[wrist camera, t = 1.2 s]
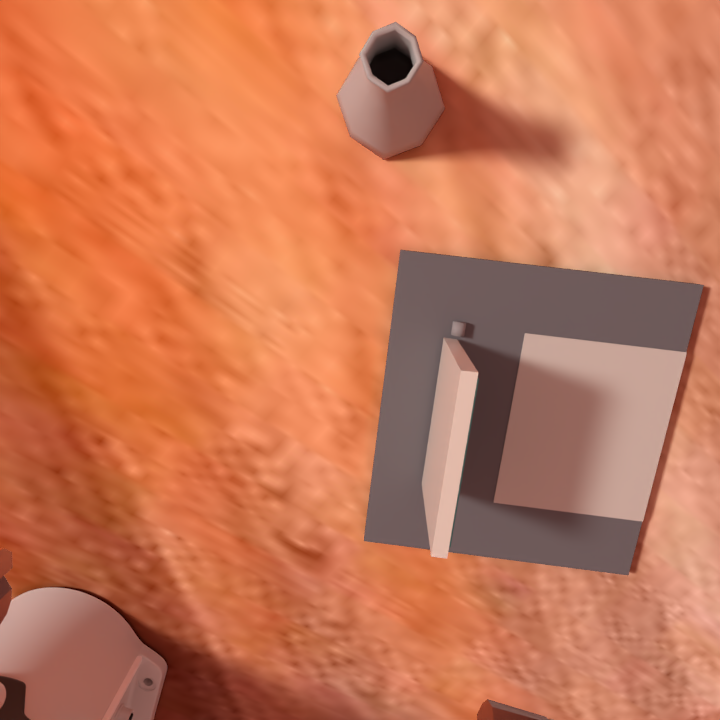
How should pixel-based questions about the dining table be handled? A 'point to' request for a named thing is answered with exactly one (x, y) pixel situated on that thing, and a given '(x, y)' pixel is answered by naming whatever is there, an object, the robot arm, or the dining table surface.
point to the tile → (448, 443)
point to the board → (532, 406)
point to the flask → (390, 94)
